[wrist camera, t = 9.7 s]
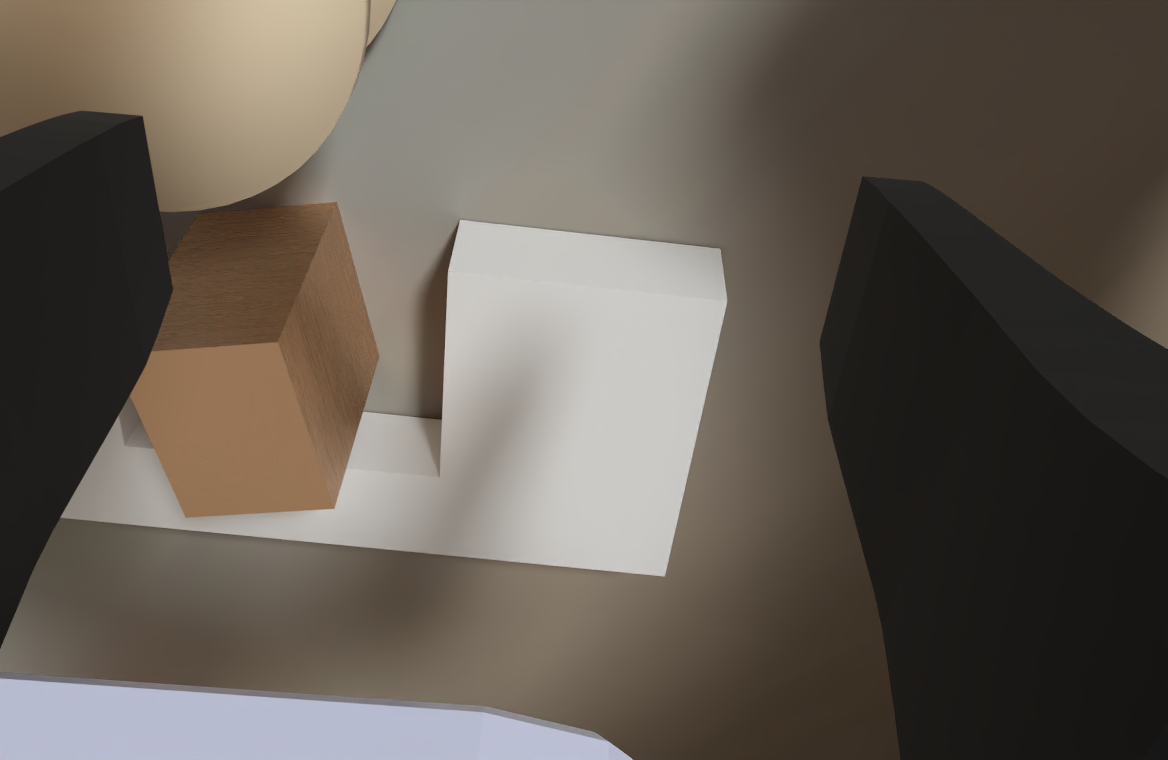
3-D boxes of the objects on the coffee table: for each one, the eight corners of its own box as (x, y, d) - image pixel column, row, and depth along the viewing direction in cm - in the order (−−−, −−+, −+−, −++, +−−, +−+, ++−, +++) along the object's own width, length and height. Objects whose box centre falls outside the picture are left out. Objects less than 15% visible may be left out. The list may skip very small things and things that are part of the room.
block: (337, 201, 23) (277, 342, 19) (379, 355, 25) (334, 509, 21) (197, 213, 23) (111, 354, 19) (252, 364, 26) (185, 517, 22)
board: (719, 248, 23) (727, 301, 22) (662, 517, 28) (664, 576, 27) (-53, 163, 23) (-104, 211, 21) (25, 453, 28) (-12, 510, 26)
